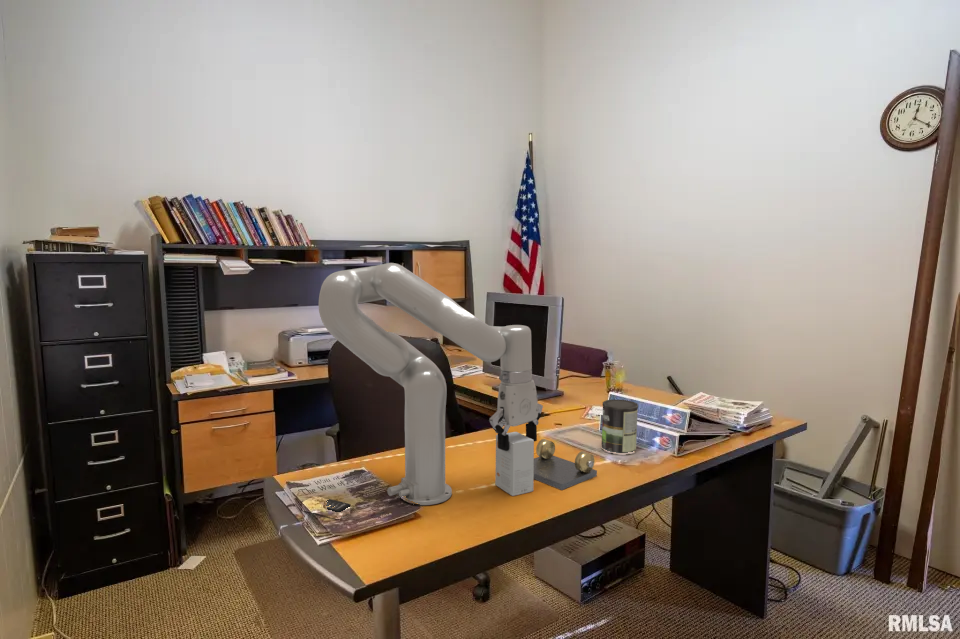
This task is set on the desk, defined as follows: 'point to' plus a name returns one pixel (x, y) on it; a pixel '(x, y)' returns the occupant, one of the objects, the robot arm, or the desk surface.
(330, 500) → the multiport hub
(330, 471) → the desk surface
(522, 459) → the small box
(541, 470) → the grey brass knob stand
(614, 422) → the coffee can
